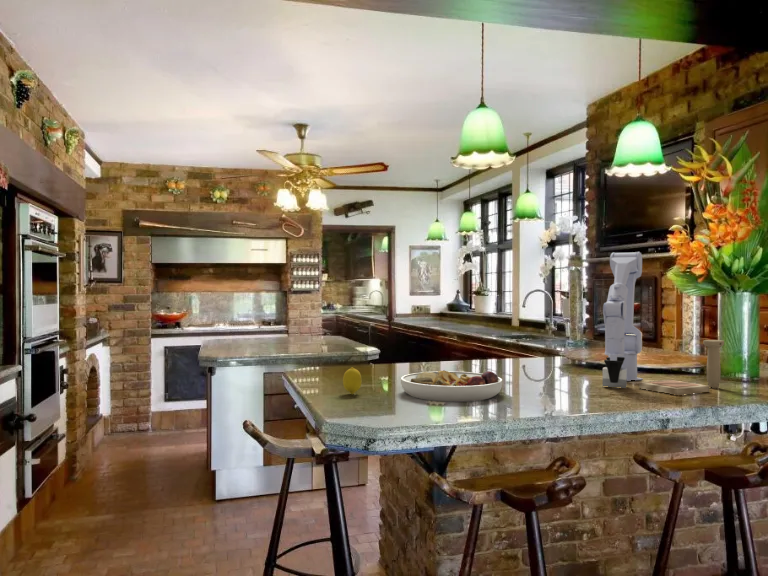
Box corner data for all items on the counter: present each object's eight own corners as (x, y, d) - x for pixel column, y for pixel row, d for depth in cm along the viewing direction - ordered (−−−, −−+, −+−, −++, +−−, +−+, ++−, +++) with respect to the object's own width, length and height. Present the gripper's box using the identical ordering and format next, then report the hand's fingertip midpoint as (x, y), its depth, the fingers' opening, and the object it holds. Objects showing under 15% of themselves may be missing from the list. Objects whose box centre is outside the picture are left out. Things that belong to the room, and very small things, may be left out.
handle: (727, 388, 192) (727, 340, 192) (713, 389, 190) (713, 341, 190) (713, 386, 197) (713, 339, 197) (699, 387, 194) (699, 340, 194)
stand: (638, 388, 191) (638, 381, 191) (669, 385, 197) (669, 378, 197) (677, 395, 179) (677, 388, 179) (709, 392, 185) (709, 385, 185)
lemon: (359, 396, 177) (359, 368, 177) (340, 395, 178) (340, 368, 178) (363, 393, 183) (363, 366, 183) (345, 392, 184) (345, 365, 184)
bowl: (383, 398, 175) (383, 371, 175) (425, 384, 202) (425, 360, 202) (483, 408, 161) (483, 378, 161) (514, 391, 188) (514, 365, 188)
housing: (626, 389, 191) (626, 370, 191) (602, 387, 194) (602, 368, 194) (626, 387, 195) (626, 368, 196) (603, 385, 198) (603, 367, 198)
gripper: (627, 340, 187) (627, 385, 187) (628, 337, 200) (628, 378, 200) (602, 339, 189) (602, 383, 189) (606, 336, 203) (606, 377, 203)
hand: (614, 381), depth 195 cm, fingers open, 7 cm apart
